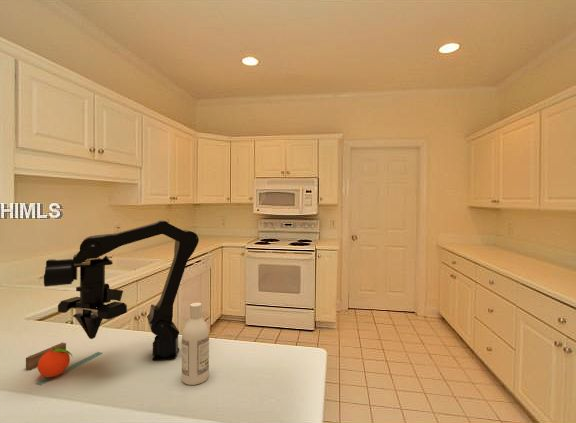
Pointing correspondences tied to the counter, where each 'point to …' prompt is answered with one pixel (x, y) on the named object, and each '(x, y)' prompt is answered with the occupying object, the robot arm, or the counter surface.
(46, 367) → the clementine
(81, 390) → the counter surface
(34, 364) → the rail
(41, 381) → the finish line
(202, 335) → the bath foam
